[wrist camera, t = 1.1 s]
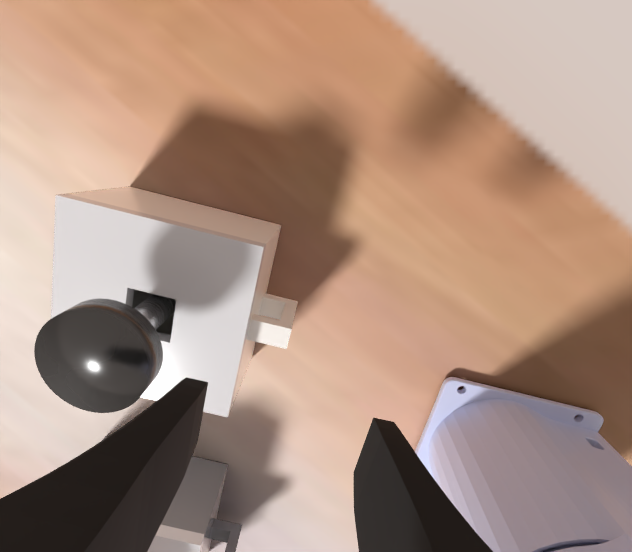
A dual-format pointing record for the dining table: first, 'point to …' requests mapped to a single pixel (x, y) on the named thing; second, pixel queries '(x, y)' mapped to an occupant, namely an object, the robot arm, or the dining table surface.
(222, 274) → the press white
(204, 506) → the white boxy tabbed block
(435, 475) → the robot arm
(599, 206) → the dining table surface
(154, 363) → the doorknob dark gray
